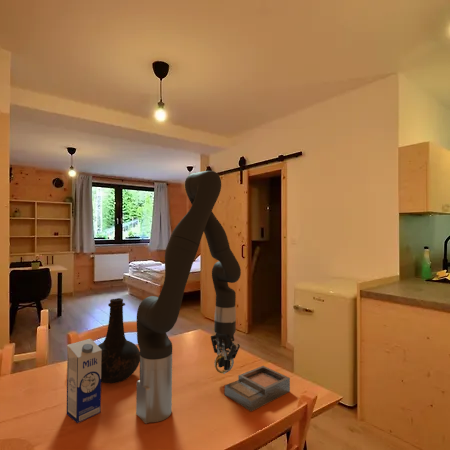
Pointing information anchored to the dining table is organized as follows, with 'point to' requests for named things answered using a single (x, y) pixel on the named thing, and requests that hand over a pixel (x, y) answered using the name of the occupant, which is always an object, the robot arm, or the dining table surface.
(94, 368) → the milk carton
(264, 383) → the grey tray
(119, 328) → the glass bottle
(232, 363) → the ring
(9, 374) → the dining table surface
